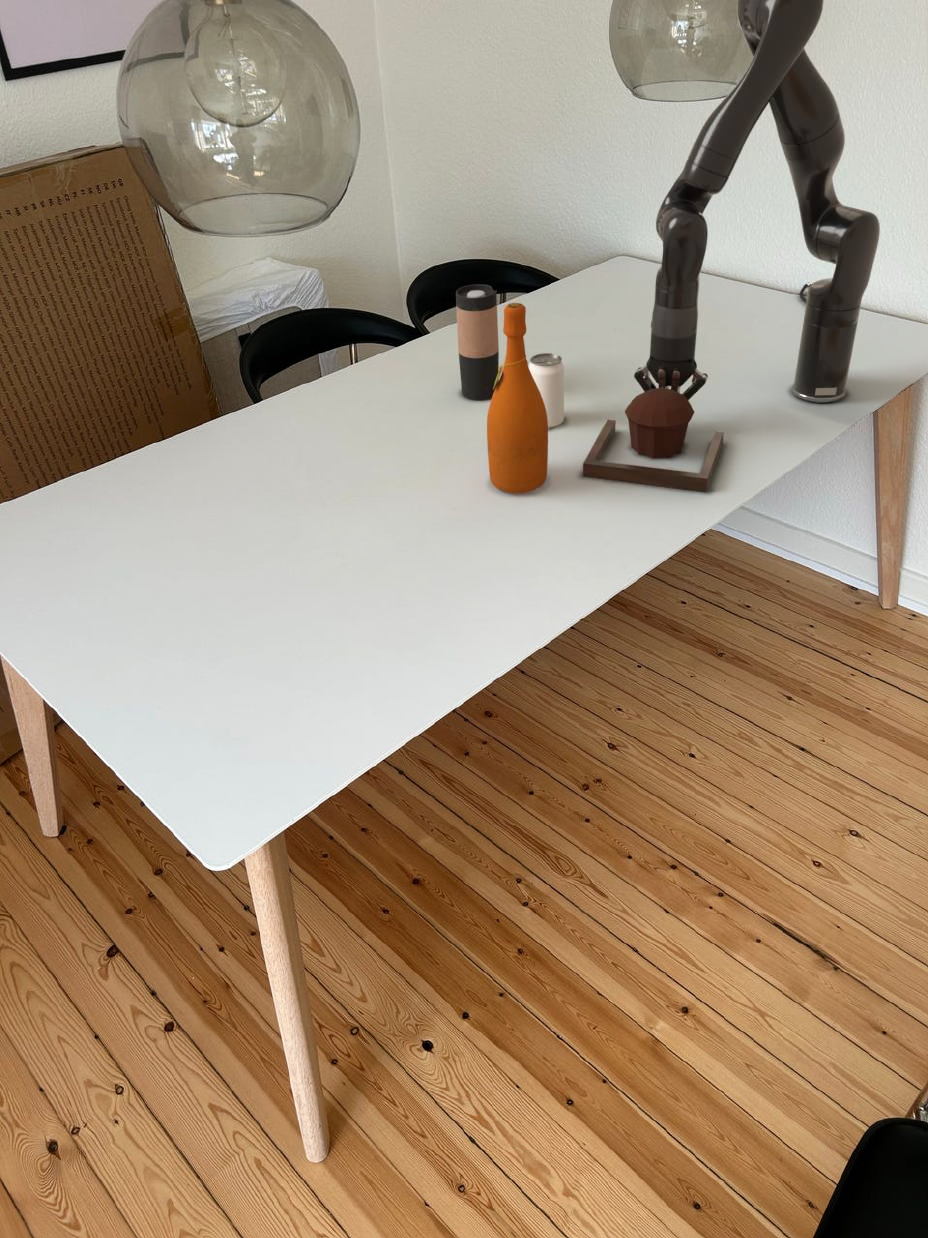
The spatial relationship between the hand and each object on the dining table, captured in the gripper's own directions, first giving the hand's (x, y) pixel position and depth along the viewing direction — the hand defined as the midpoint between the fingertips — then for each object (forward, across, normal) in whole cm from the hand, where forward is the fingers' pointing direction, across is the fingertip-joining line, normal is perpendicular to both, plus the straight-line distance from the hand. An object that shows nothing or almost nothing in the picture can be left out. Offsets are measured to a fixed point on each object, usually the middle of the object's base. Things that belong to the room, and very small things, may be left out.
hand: (667, 422), depth 181 cm
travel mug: (+2, +38, -7) cm, 39 cm away
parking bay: (+2, 0, +11) cm, 11 cm away
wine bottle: (+2, +20, +25) cm, 32 cm away
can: (+2, +22, +2) cm, 22 cm away
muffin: (+2, 0, +7) cm, 7 cm away
